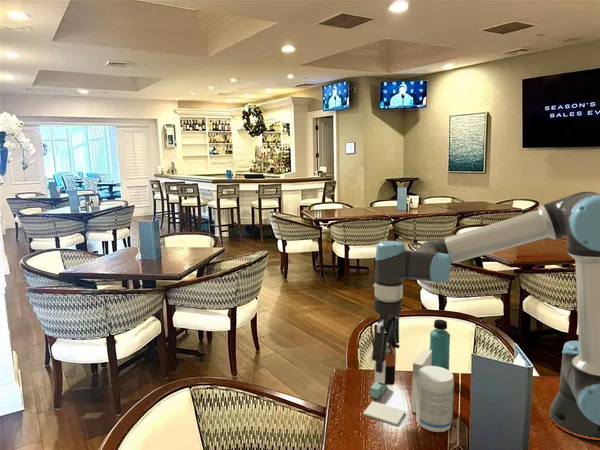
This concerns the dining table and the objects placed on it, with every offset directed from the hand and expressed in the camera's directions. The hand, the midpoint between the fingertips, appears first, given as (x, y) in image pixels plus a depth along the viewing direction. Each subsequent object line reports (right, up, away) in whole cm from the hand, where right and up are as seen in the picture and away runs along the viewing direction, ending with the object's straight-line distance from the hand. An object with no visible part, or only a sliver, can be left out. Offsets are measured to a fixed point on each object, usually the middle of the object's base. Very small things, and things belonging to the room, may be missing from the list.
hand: (385, 375), depth 126 cm
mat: (0, -12, +2) cm, 12 cm away
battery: (0, -1, 0) cm, 1 cm away
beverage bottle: (+22, -9, +22) cm, 32 cm away
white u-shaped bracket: (+12, -11, +7) cm, 18 cm away
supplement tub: (+13, -13, -2) cm, 18 cm away
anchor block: (+1, -10, +14) cm, 17 cm away
